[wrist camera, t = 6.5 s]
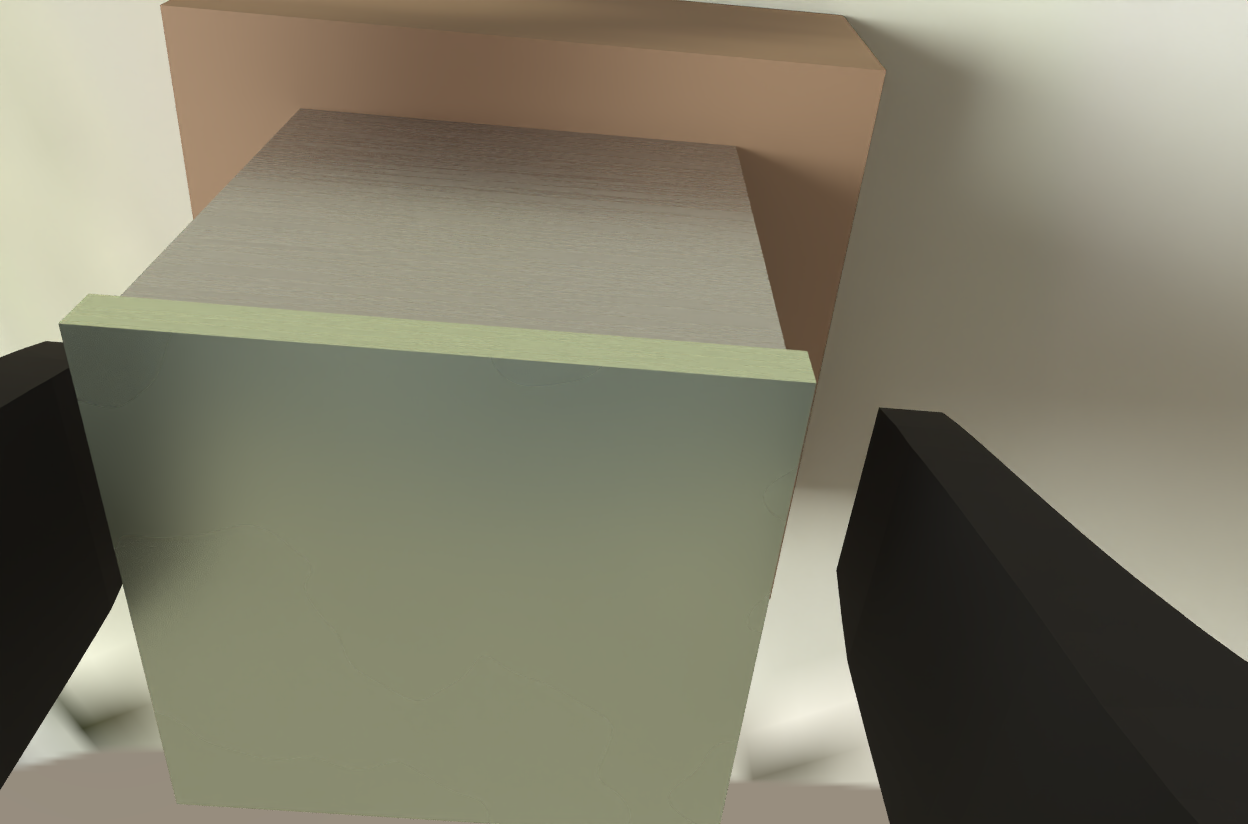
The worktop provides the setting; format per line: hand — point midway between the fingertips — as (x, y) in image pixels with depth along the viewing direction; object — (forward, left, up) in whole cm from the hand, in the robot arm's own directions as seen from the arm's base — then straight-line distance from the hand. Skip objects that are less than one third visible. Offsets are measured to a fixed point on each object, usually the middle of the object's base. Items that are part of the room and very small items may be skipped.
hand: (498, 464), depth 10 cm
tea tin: (0, 0, -2) cm, 2 cm away
